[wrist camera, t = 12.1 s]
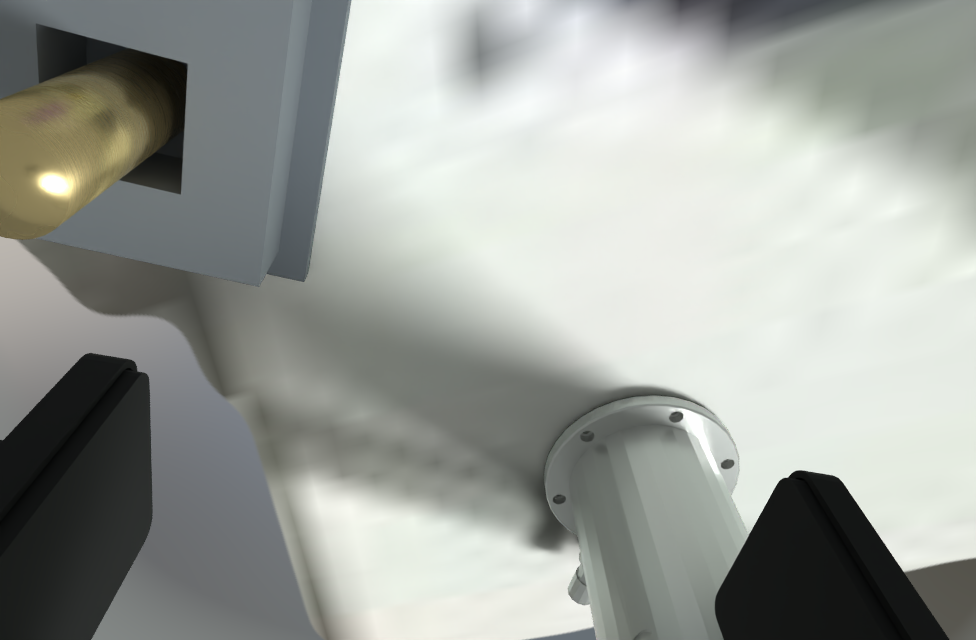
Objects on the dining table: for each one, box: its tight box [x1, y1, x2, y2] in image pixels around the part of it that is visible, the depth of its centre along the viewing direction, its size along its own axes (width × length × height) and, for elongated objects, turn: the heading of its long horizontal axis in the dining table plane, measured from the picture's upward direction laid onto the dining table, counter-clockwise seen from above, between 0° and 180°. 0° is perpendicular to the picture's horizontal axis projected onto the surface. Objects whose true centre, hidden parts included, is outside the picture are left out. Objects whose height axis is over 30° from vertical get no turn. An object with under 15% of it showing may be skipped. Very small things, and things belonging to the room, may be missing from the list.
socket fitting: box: [0, 0, 351, 287], centre depth 30 cm, size 16×16×5 cm
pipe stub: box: [0, 48, 188, 240], centre depth 26 cm, size 4×4×12 cm
